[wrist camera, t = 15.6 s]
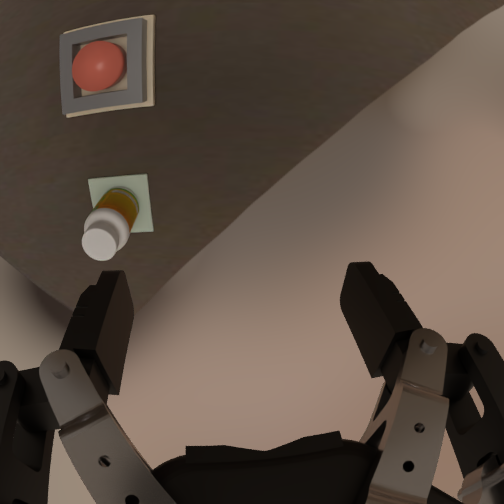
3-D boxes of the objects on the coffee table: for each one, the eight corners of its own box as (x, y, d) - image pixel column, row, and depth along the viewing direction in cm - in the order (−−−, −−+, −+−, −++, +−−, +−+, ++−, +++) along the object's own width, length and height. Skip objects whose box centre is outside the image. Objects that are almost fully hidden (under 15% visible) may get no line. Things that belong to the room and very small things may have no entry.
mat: (89, 178, 35) (88, 179, 35) (147, 173, 36) (146, 174, 36) (99, 232, 39) (98, 234, 39) (153, 230, 40) (153, 231, 40)
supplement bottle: (107, 179, 35) (80, 214, 27) (145, 194, 37) (128, 233, 29) (97, 215, 37) (72, 256, 29) (133, 229, 39) (116, 273, 31)
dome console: (67, 33, 24) (54, 31, 21) (155, 16, 25) (149, 10, 22) (70, 116, 30) (58, 121, 27) (155, 104, 31) (149, 108, 28)
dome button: (82, 47, 25) (71, 46, 22) (128, 38, 25) (120, 36, 23) (83, 92, 28) (73, 95, 25) (128, 85, 28) (121, 87, 26)
